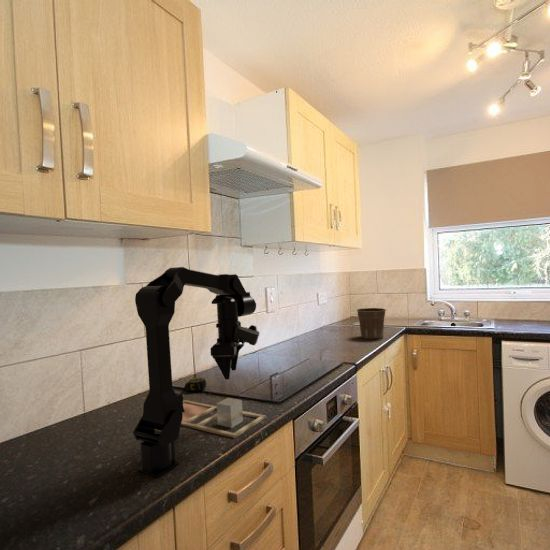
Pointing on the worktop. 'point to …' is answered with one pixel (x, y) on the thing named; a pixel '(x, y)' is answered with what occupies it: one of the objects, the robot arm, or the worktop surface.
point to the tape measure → (195, 384)
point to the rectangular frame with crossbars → (211, 418)
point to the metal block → (229, 412)
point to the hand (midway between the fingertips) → (230, 374)
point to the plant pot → (371, 322)
